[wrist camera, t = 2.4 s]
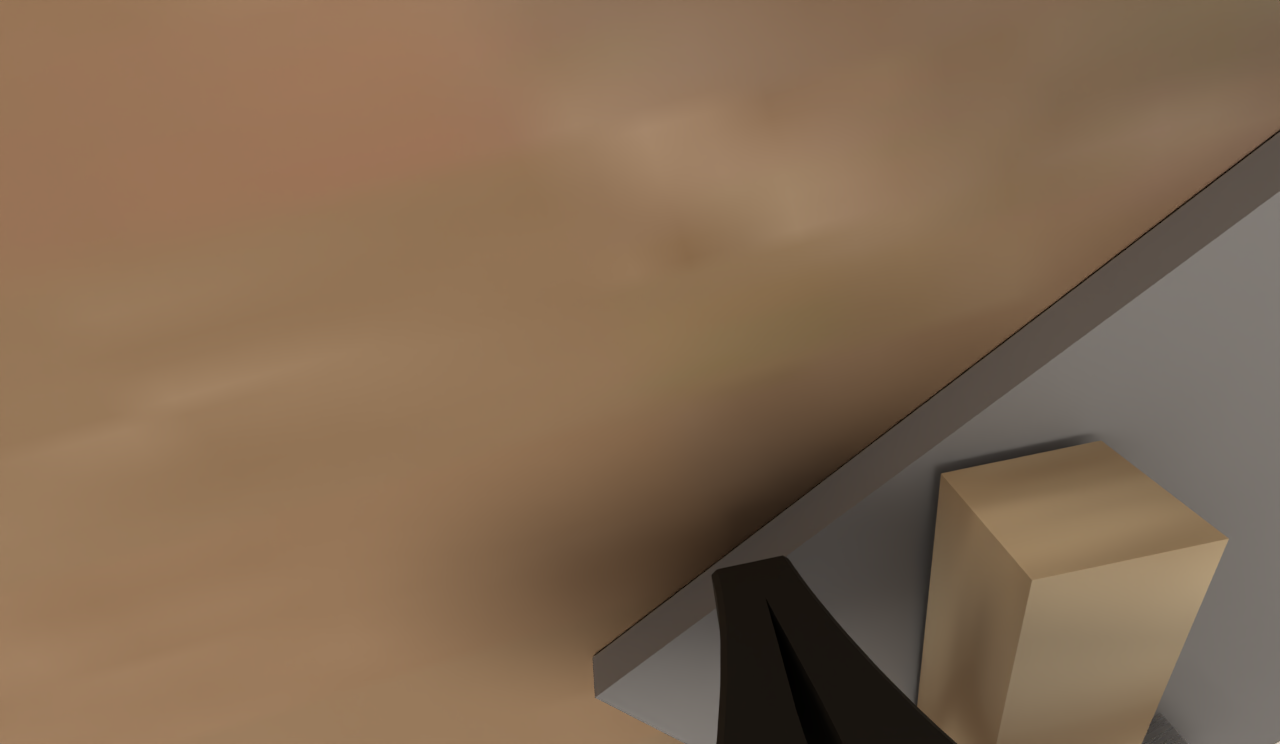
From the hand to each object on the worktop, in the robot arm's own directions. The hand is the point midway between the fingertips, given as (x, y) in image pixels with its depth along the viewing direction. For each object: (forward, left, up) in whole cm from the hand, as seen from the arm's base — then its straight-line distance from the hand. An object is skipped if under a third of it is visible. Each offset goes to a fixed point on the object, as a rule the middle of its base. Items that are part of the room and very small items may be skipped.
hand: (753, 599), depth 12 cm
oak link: (-7, -1, -1) cm, 8 cm away
